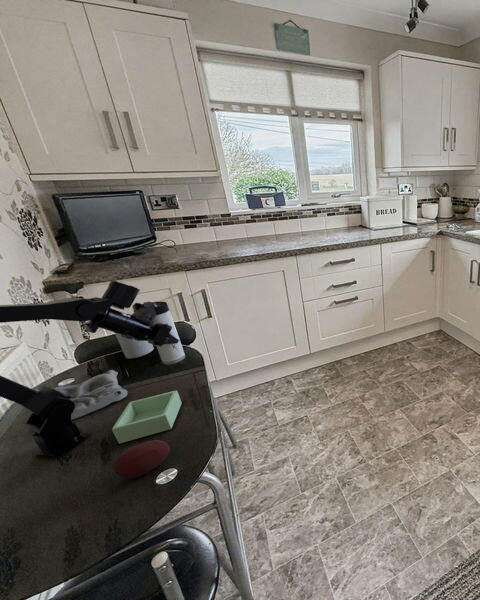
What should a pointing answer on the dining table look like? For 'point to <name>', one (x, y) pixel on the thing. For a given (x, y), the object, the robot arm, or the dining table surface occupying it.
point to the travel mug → (170, 351)
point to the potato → (141, 459)
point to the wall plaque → (94, 393)
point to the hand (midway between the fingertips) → (171, 340)
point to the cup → (134, 347)
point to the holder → (147, 416)
